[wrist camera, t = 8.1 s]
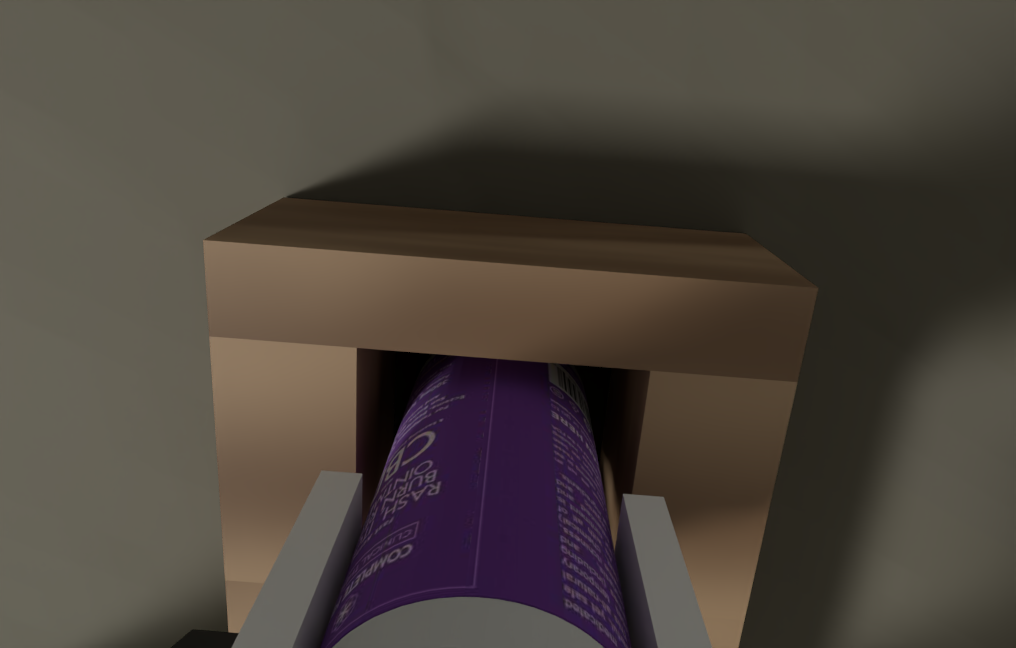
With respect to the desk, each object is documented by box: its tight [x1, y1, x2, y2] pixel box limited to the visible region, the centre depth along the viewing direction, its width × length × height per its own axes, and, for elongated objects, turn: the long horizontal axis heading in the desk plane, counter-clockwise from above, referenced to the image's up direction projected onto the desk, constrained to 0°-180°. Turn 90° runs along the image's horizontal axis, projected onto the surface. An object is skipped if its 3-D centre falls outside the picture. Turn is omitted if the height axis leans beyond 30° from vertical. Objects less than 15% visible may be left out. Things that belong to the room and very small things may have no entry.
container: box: [320, 354, 632, 648], centre depth 12 cm, size 5×5×15 cm
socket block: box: [203, 198, 819, 648], centre depth 19 cm, size 16×12×5 cm
